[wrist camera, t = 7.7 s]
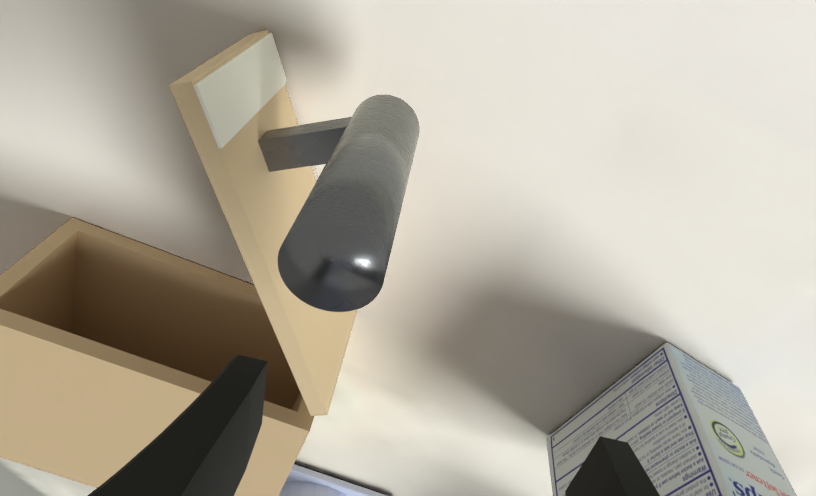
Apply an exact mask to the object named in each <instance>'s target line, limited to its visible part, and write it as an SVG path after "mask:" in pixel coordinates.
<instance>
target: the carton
mask: <svg viewBox="0 0 816 496" xmlns="http://www.w3.org/2000/svg"><path fill="white" fill-rule="evenodd" d="M237 355H242V356H247V357H251V358H256V359H260V360H264V361H267V371H266V383H265V394H264V406H263V418H262V425H261V428H260V431H259V434H258V437H257V439H256V442H255V445H254V448H253V451H252V454H251V457H250V459H249V462H248V465H247V468H246V471H245V473H244V475H243V477H242V479H241V481H240V484H239V486H238V488H237V490H236V492H235V494H234V496H279V494H280V492H281V490H282V488H283V486H284V484H285V482H286V479H287V477H288V475H289V473H290V471H291V469H292V467H293V465H294V463H295V461H296V458H297V456H298V454H299V452H300V450H301V448H302V446H303V444H304V442H305V440H306V437H307V435H308V433H309V431H310V428H311V425H312V421H313V418H314V416H311V415H310V413H309V411H308V408H307V406H306V404H305V401H304V399H303V397H302V394H301V392H300V390H299V387H298V385H297V383H296V380H295V378H294V376H293V373H292V371H291V369H290V366H289V364H288V362H287V359H286V357H285V355H284V353H283V350H282V348H281V346H280V343H279V341H278V339H277V336H276V334H275V332H274V329H273V327H272V325H271V322H270V320H269V318H268V315H267V313H266V311H265V308H264V306H263V304H262V301H261V299H260V297H259V294H258V292H257V290H256V287H255V285H252V284H249V283H247V282H244V281H241V280H239V279H236V278H233V277H231V276H228V275H225V274H223V273H220V272H217V271H215V270H212V269H209V268H207V267H204V266H201V265H199V264H196V263H193V262H191V261H188V260H185V259H183V258H180V257H177V256H175V255H172V254H169V253H167V252H164V251H161V250H159V249H156V248H153V247H150V246H148V245H145V244H142V243H140V242H137V241H134V240H132V239H129V238H126V237H124V236H121V235H118V234H116V233H113V232H110V231H108V230H105V229H102V228H100V227H97V226H94V225H92V224H89V223H86V222H84V221H81V220H78V219H76V218H73V217H72V218H71V219H69V220H68V221H67V222H66V223H64V224H63V225H62V226H61V227H59V228H58V229H57V230H56V231H54V232H53V233H52V234H51V235H50V236H48V237H47V238H46V239H45V240H43V241H42V242H41V243H40V244H38V245H37V246H36V247H35V248H33V249H32V250H31V251H30V252H29V253H27V254H26V255H25V256H24V257H22V258H21V259H20V260H19V261H17V262H16V263H15V264H14V265H13V266H11V267H10V268H9V269H8V270H6V271H5V272H4V273H3V274H1V275H0V457H1V458H5V459H8V460H11V461H14V462H17V463H20V464H24V465H27V466H30V467H33V468H36V469H39V470H43V471H46V472H49V473H52V474H55V475H58V476H62V477H65V478H68V479H71V480H74V481H77V482H81V483H84V484H87V485H90V486H93V487H96V488H98V487H99V486H100V485H102V484H103V483H104V482H105V481H107V480H108V479H109V478H110V477H111V476H113V475H114V474H115V473H116V472H118V471H119V470H120V469H121V468H122V467H123V466H125V465H126V464H127V463H128V462H129V461H130V460H131V459H132V458H134V457H135V456H136V455H137V454H138V453H139V452H140V451H142V450H143V449H144V448H145V447H146V446H147V445H148V444H150V443H151V442H152V441H153V440H154V439H155V438H156V437H157V436H158V435H159V434H161V433H162V432H163V431H164V430H165V429H166V428H167V427H168V426H169V425H170V424H171V423H172V422H173V421H174V420H175V419H176V418H177V417H178V416H179V415H180V414H181V413H182V412H183V411H184V410H185V409H186V408H187V407H188V406H189V405H190V404H191V403H192V402H193V401H194V400H195V399H196V398H197V397H198V396H199V395H200V394H201V393H202V392H203V391H204V390H205V389H206V388H207V387H208V386H209V385H210V384H211V382H212V381H213V380H214V379H215V378H216V377H217V376H218V375H219V374H220V372H221V371H222V370H223V369H224V368H225V367H226V366H227V364H228V363H229V362H230V361H231V360H232V358H233V357H235V356H237Z"/></svg>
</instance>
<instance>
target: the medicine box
mask: <svg viewBox="0 0 816 496" xmlns="http://www.w3.org/2000/svg"><path fill="white" fill-rule="evenodd" d="M600 436H601V437H606V438H610V439H615V440H619V441H623V442H628V443H629V445H630V447H631V448H632V450H633V452H634V453H635V455H636V456H637V458H638V460H639V461H640V463H641V465H642V467H643V468H644V470H645V472H646V473H647V475H648V477H649V478H650V480H651V482H652V483H653V485H654V487H655V488H656V490H657V492H658V493H659V495H660V496H797V495H796V493H795V491H794V489H793V488H792V486H791V484H790V482H789V480H788V478H787V476H786V474H785V473H784V471H783V469H782V467H781V465H780V463H779V461H778V459H777V458H776V456H775V454H774V452H773V450H772V448H771V446H770V444H769V442H768V440H767V438H766V436H765V434H764V433H763V431H762V429H761V427H760V425H759V423H758V421H757V419H756V417H755V415H754V414H753V412H752V410H751V408H750V406H749V404H748V402H747V400H746V399H745V397H744V395H743V393H742V392H741V390H740V389H739V388H738V387H737V386H735V385H734V384H732V383H731V382H730V381H728V380H726V379H725V378H723V377H721V376H720V375H719V374H717V373H716V372H714V371H713V370H711V369H709V368H708V367H706V366H705V365H703V364H701V363H699V362H698V361H696V360H695V359H693V358H691V357H690V356H688V355H687V354H685V353H684V352H682V351H681V350H679V349H677V348H676V347H674V346H673V345H671V344H669V343H665V344H663V345H662V346H661V347H660V348H658V349H657V350H656V351H655V352H653V353H652V354H651V355H650V356H648V357H647V358H646V359H645V360H643V361H642V362H641V363H640V364H639V365H637V366H636V367H635V368H633V369H632V370H631V371H630V372H628V373H627V374H626V375H625V376H623V377H622V378H621V379H620V380H618V381H617V382H616V383H615V384H613V385H612V386H611V387H610V388H608V389H607V390H606V391H605V392H603V393H602V394H601V395H600V396H598V397H597V398H596V399H595V400H593V401H592V402H591V403H590V404H589V405H587V406H586V407H585V408H583V409H582V410H581V411H580V412H578V413H577V414H576V415H575V416H573V417H572V418H571V419H570V420H568V421H567V422H566V423H565V424H564V425H562V426H561V427H560V428H559V429H557V430H556V431H555V432H553V433H552V434H550V435H549V436H547V449H548V457H549V466H550V475H551V482H552V491H553V496H565V491H566V489H567V488H568V486H569V484H570V483H571V481H572V480H573V478H574V477H575V475H576V473H577V472H578V470H579V469H580V467H581V466H582V464H583V462H584V461H585V459H586V458H587V456H588V455H589V453H590V451H591V450H592V448H593V447H594V445H595V444H596V442H597V440H598V439H599V437H600Z"/></svg>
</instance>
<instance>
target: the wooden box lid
mask: <svg viewBox="0 0 816 496" xmlns="http://www.w3.org/2000/svg"><path fill="white" fill-rule="evenodd" d="M286 83H287V79H286V76H285V73H284V70H283V66H282V63H281V60H280V57H279V54H278V50H277V47H276V44H275V41H274V38H273V35H272V32H271V33H269V32H268V30H264V31H259V32H254V33H250V34H249V35H247V36H245V37H244V38H242V39H241V40H239V41H238V42H236V43H234V44H233V45H231V46H230V47H228V48H227V49H225V50H223V51H222V52H220V53H219V54H217V55H216V56H214V57H212V58H211V59H209V60H208V61H206V62H205V63H203V64H201V65H200V66H198V67H197V68H195V69H194V70H192V71H190V72H189V73H187V74H186V75H184V76H183V77H181V78H180V79H178V80H176V81H175V82H173V83H172V84H170V85H169V87H170V90H171V92H172V94H173V97H174V99H175V101H176V104H177V106H178V108H179V111H180V113H181V115H182V118H183V120H184V122H185V125H186V127H187V129H188V132H189V134H190V136H191V138H192V141H193V143H194V145H195V148H196V150H197V152H198V155H199V157H200V159H201V162H202V164H203V166H204V169H205V171H206V173H207V176H208V178H209V180H210V183H211V185H212V187H213V190H214V192H215V194H216V197H217V199H218V201H219V204H220V206H221V208H222V211H223V213H224V215H225V218H226V220H227V222H228V225H229V227H230V229H231V232H232V234H233V236H234V239H235V241H236V243H237V245H238V248H239V250H240V252H241V255H242V257H243V259H244V262H245V264H246V266H247V269H248V271H249V273H250V276H251V278H252V280H253V283H254V285H255V287H256V290H257V292H258V294H259V297H260V299H261V301H262V304H263V306H264V308H265V311H266V313H267V315H268V318H269V320H270V322H271V325H272V327H273V329H274V332H275V334H276V336H277V339H278V341H279V343H280V346H281V348H282V350H283V353H284V355H285V357H286V359H287V362H288V364H289V366H290V369H291V371H292V373H293V376H294V378H295V380H296V383H297V385H298V387H299V390H300V392H301V394H302V397H303V399H304V401H305V404H306V406H307V408H308V411H309V413H310V415H311V416H319V415H327V414H328V410H329V407H330V403H331V400H332V396H333V393H334V390H335V386H336V383H337V379H338V376H339V372H340V369H341V365H342V362H343V358H344V355H345V351H346V348H347V344H348V341H349V337H350V334H351V330H352V327H353V323H354V320H355V316H356V313H357V309H359V308H361V307H364V306H365V305H367V304H369V303H370V302H371V301H372V300H373V299H374V298H375V297H376V296H377V295H378V293H379V292H380V290H381V288H382V285H383V282H384V277H385V273H386V269H387V265H388V261H389V257H390V253H391V248H392V244H393V240H394V236H395V232H396V228H397V224H398V219H399V215H400V211H401V207H402V203H403V199H404V195H405V190H406V186H407V182H408V178H409V174H410V170H411V166H412V161H413V157H414V153H415V149H416V145H417V141H418V137H419V122H418V119H417V116H416V114H415V112H414V111H413V109H412V108H411V107H410V106H409V105H408V104H407V103H406V102H405V101H403V100H401V99H400V98H397V97H395V96H391V95H376V96H373V97H370V98H368V99H366V100H365V101H363V102H362V103H361V104H360V105H359V106H358V108H357V109H356V111H355V113H354V114H353V116H352V117H348V118H342V119H336V120H329V121H323V122H317V123H311V124H305V125H299V126H298V123H297V120H296V117H295V114H294V110H293V107H292V104H291V101H290V98H289V95H288V91H287V88H286V85H285V84H286ZM320 164H326V165H325V167H324V169H323V171H322V172H321V174H320V176H319V178H318V180H317V182H316V180H315V177H314V173H313V170H312V167H311V166H314V165H320Z"/></svg>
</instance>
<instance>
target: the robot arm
mask: <svg viewBox="0 0 816 496" xmlns="http://www.w3.org/2000/svg"><path fill="white" fill-rule="evenodd" d="M266 371H267V361H264V360H260V359H256V358H251V357H247V356H242V355H237V356H235V357H233V358H232V360H231V361H230V362H229V363H228V364H227V366H226V367H225V368H224V369H223V370H222V371H221V372H220V374H219V375H218V376H217V377H216V378H215V379H214V380H213V381H212V382H211V384H210V385H209V386H208V387H207V388H206V389H205V390H204V391H203V392H202V393H201V394H200V395H199V396H198V397H197V398H196V399H195V400H194V401H193V402H192V403H191V404H190V405H189V406H188V407H187V408H186V409H185V410H184V411H183V412H182V413H181V414H180V415H179V416H178V417H177V418H176V419H175V420H174V421H173V422H172V423H171V424H170V425H169V426H168V427H167V428H166V429H165V430H164V431H163V432H162V433H161V434H159V435H158V436H157V437H156V438H155V439H154V440H153V441H152V442H151V443H150V444H148V445H147V446H146V447H145V448H144V449H143V450H142V451H140V452H139V453H138V454H137V455H136V456H135V457H134V458H132V459H131V460H130V461H129V462H128V463H127V464H126V465H125V466H123V467H122V468H121V469H120V470H119V471H118V472H116V473H115V474H114V475H113V476H111V477H110V478H109V479H108V480H107V481H105V482H104V483H103V484H102V485H100V486H99V487H98V488H97V489H95V490H94V491H93V492H92V493H90V494H89V495H88V496H234V494H235V492H236V490H237V488H238V486H239V484H240V481H241V479H242V477H243V475H244V473H245V471H246V468H247V465H248V462H249V459H250V457H251V454H252V451H253V448H254V445H255V442H256V439H257V437H258V434H259V431H260V428H261V425H262V418H263V406H264V394H265V383H266ZM279 496H387V495H384V494H381V493H378V492H375V491H372V490H369V489H366V488H363V487H360V486H357V485H354V484H351V483H349V482H346V481H343V480H340V479H337V478H334V477H331V476H328V475H325V474H322V473H319V472H316V471H313V470H310V469H307V468H304V467H301V466H298V465H295V464H294V465H293V467H292V469H291V471H290V473H289V475H288V477H287V479H286V482H285V484H284V486H283V488H282V490H281V492H280V494H279ZM565 496H660V495H659V493H658V492H657V490H656V488H655V487H654V485H653V483H652V482H651V480H650V478H649V477H648V475H647V473H646V472H645V470H644V468H643V467H642V465H641V463H640V461H639V460H638V458H637V456H636V455H635V453H634V452H633V450H632V448H631V447H630V445H629V443H628V442H623V441H619V440H615V439H610V438H606V437H601V436H600V437H599V439H598V440H597V442H596V444H595V445H594V447H593V448H592V450H591V451H590V453H589V455H588V456H587V458H586V459H585V461H584V462H583V464H582V466H581V467H580V469H579V470H578V472H577V473H576V475H575V477H574V478H573V480H572V481H571V483H570V484H569V486H568V488H567V489H566V491H565Z"/></svg>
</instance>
